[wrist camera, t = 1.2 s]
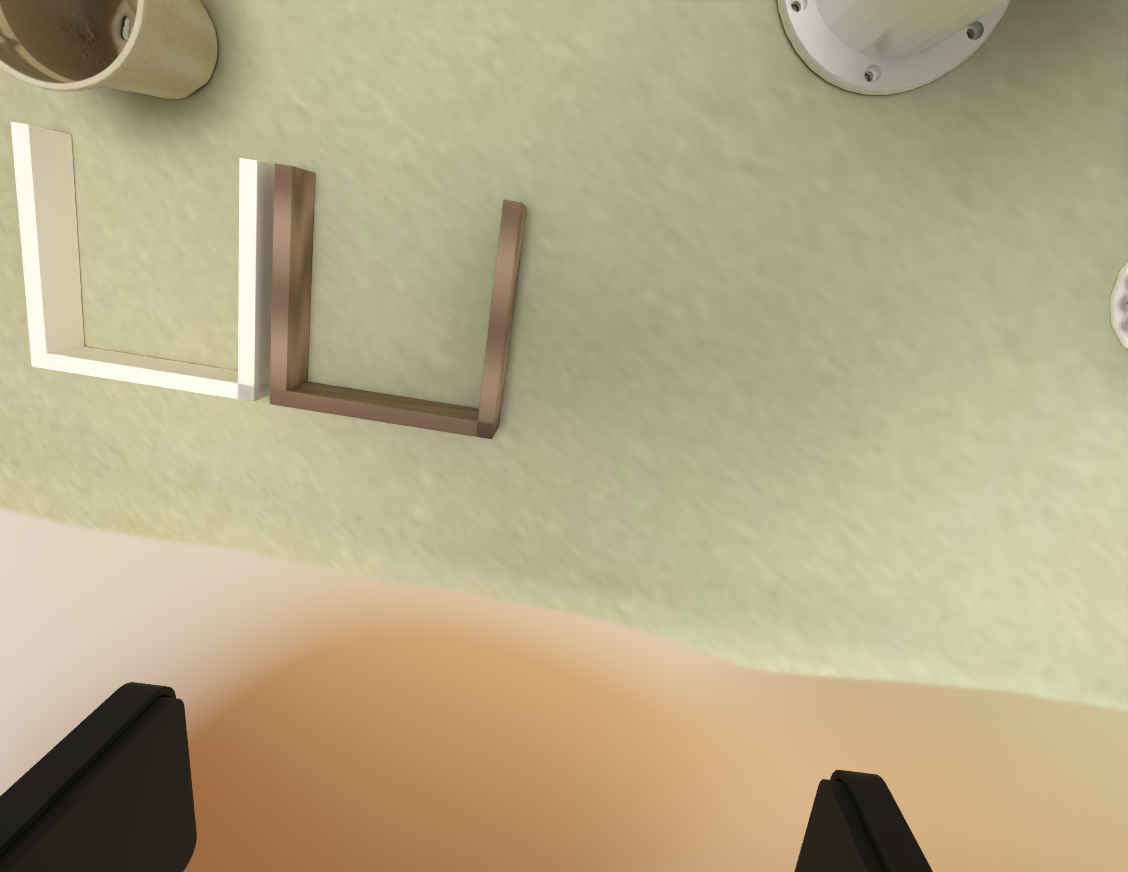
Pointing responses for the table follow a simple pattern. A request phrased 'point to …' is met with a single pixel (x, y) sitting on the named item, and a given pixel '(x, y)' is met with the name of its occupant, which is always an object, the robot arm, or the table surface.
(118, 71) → the flower pot
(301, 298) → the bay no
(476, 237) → the table surface
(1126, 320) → the decorative candle
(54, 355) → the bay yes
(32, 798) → the robot arm
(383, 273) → the table surface
